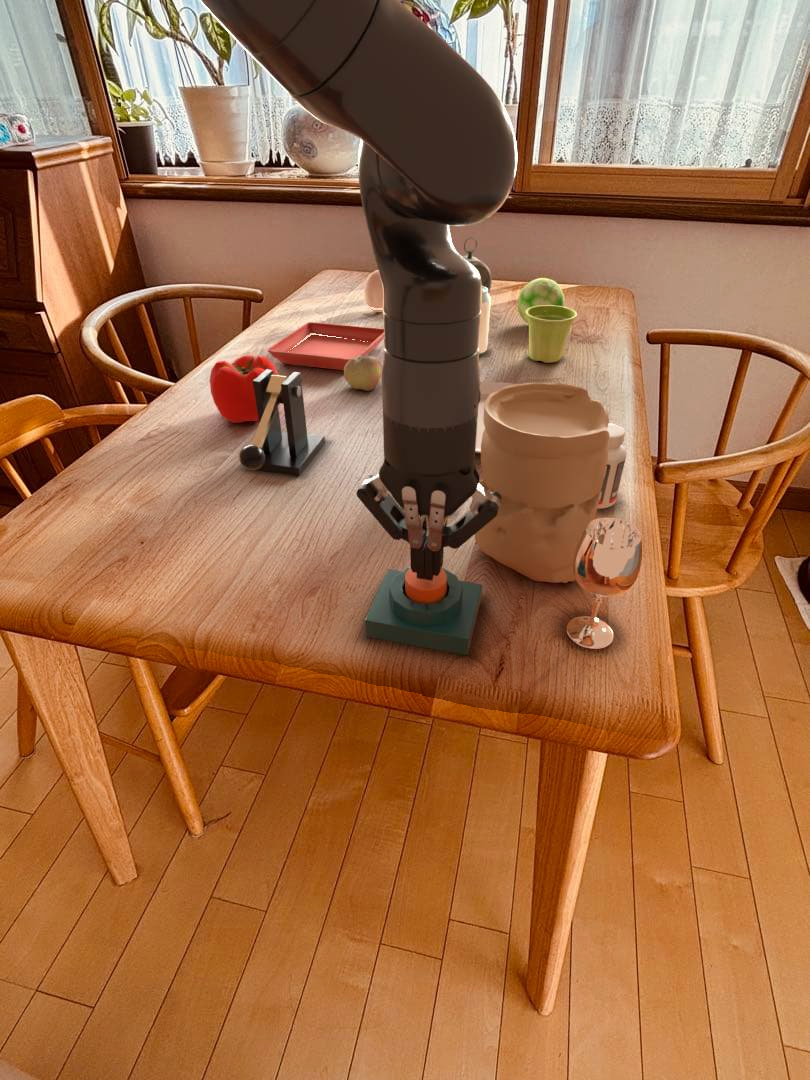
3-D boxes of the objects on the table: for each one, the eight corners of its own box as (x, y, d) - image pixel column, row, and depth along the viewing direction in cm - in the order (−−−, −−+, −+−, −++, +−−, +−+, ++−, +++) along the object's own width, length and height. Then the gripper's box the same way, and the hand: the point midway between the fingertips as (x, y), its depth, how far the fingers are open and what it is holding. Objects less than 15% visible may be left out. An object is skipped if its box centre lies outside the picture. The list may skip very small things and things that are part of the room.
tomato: (226, 437, 94) (215, 380, 89) (210, 407, 103) (199, 353, 98) (294, 423, 98) (287, 368, 93) (273, 395, 107) (266, 343, 101)
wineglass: (557, 609, 63) (576, 511, 56) (616, 615, 63) (642, 516, 56) (561, 651, 59) (582, 550, 52) (624, 657, 58) (654, 555, 51)
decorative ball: (518, 318, 142) (522, 271, 136) (562, 321, 139) (569, 274, 133) (512, 331, 134) (517, 282, 128) (559, 335, 132) (566, 286, 126)
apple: (386, 397, 106) (385, 363, 103) (341, 394, 107) (338, 360, 104) (393, 383, 111) (392, 350, 108) (349, 380, 112) (347, 348, 109)
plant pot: (579, 362, 119) (587, 316, 114) (535, 369, 116) (541, 322, 111) (553, 347, 126) (559, 303, 121) (512, 352, 123) (516, 307, 118)
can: (486, 345, 127) (491, 284, 120) (486, 358, 121) (491, 294, 114) (452, 344, 127) (454, 283, 120) (450, 356, 122) (453, 293, 115)
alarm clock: (481, 307, 149) (486, 232, 139) (492, 313, 145) (498, 237, 135) (440, 312, 145) (442, 236, 135) (450, 319, 141) (453, 241, 131)
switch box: (365, 636, 60) (363, 606, 58) (388, 584, 67) (387, 555, 64) (467, 655, 58) (469, 624, 56) (480, 600, 65) (483, 570, 62)
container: (569, 522, 76) (595, 380, 65) (598, 589, 66) (635, 435, 55) (466, 524, 76) (476, 382, 65) (480, 592, 66) (494, 438, 55)
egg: (385, 317, 142) (384, 275, 137) (359, 314, 145) (357, 272, 139) (397, 309, 147) (397, 268, 142) (373, 306, 149) (371, 265, 144)
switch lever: (263, 476, 80) (255, 462, 77) (241, 473, 80) (232, 459, 78) (295, 390, 86) (289, 374, 83) (274, 388, 86) (267, 372, 83)
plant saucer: (267, 366, 118) (265, 348, 116) (309, 336, 132) (307, 320, 130) (355, 377, 113) (354, 359, 111) (389, 345, 127) (389, 329, 125)
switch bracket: (299, 475, 85) (289, 394, 78) (246, 468, 87) (231, 388, 80) (325, 442, 93) (318, 366, 86) (275, 436, 95) (265, 360, 88)
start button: (400, 600, 59) (400, 586, 58) (410, 574, 62) (410, 561, 61) (441, 607, 58) (442, 593, 57) (450, 581, 61) (450, 567, 60)
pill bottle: (599, 484, 83) (614, 417, 77) (624, 505, 79) (641, 435, 73) (564, 492, 81) (576, 423, 76) (587, 513, 77) (602, 443, 72)
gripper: (334, 414, 47) (347, 588, 57) (508, 433, 44) (490, 612, 55) (364, 377, 53) (371, 541, 63) (520, 392, 50) (501, 561, 61)
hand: (427, 574), depth 59 cm, fingers closed
